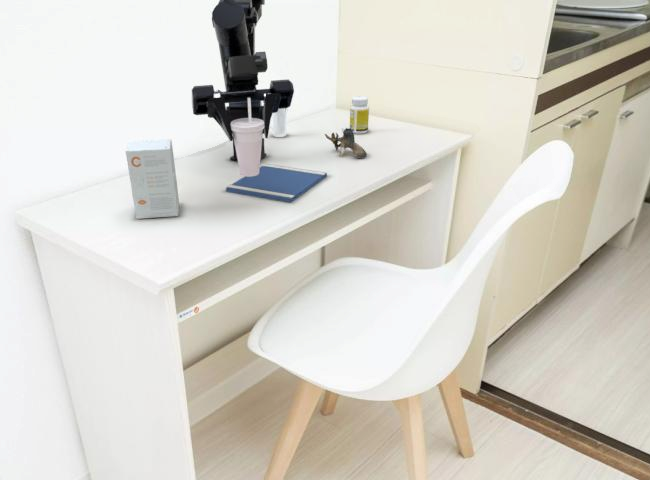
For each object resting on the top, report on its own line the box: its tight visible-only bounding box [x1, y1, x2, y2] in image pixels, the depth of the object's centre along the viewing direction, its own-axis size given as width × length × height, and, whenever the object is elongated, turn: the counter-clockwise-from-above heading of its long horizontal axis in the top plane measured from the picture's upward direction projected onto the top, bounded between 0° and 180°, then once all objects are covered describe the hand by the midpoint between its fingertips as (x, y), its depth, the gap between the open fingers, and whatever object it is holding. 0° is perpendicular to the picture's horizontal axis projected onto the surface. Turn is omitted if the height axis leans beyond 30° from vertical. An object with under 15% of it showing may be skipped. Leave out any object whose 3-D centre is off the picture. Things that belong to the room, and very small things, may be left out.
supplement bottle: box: [349, 95, 370, 135], centre depth 166 cm, size 5×5×8 cm
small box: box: [125, 138, 180, 220], centre depth 121 cm, size 8×6×13 cm
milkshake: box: [271, 107, 289, 138], centre depth 164 cm, size 4×5×10 cm
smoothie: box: [230, 98, 265, 177], centre depth 121 cm, size 6×6×14 cm
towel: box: [225, 163, 328, 204], centre depth 136 cm, size 15×17×1 cm
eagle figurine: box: [324, 127, 368, 160], centre depth 151 cm, size 8×7×9 cm
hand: (249, 138), depth 119 cm, fingers closed on smoothie, 6 cm apart
